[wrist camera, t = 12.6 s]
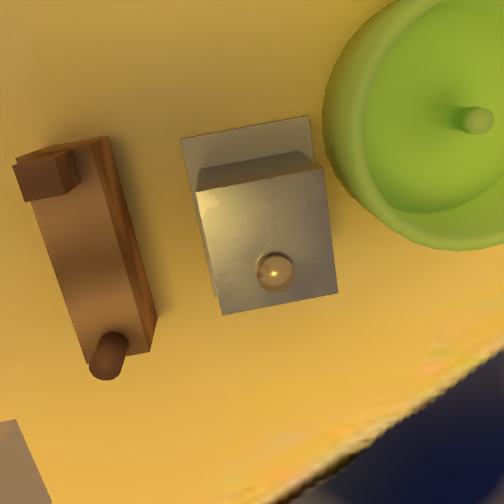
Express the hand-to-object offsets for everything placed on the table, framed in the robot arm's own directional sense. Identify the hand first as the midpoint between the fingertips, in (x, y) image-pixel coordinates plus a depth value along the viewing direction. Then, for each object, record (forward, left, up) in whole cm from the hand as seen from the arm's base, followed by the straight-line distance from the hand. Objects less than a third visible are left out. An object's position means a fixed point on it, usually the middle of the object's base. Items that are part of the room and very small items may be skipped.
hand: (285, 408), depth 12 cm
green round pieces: (-9, +14, -21) cm, 27 cm away
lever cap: (0, +1, -20) cm, 20 cm away
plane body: (0, -9, -21) cm, 23 cm away
